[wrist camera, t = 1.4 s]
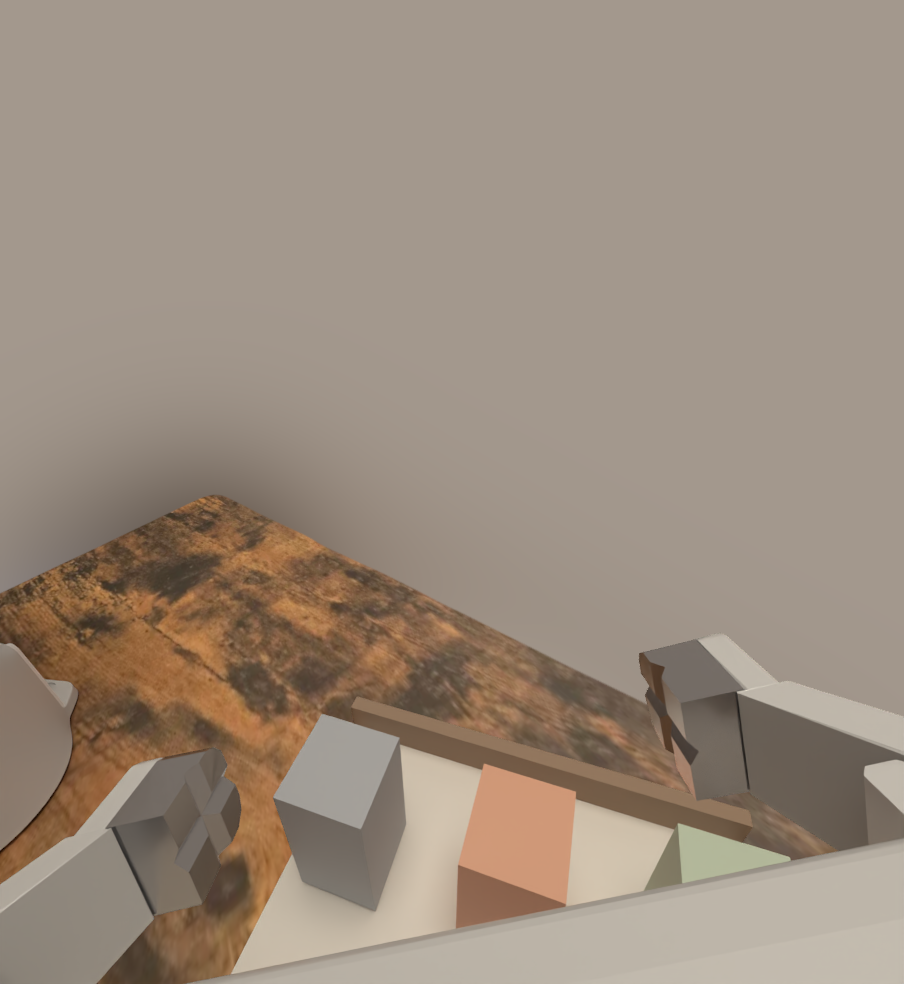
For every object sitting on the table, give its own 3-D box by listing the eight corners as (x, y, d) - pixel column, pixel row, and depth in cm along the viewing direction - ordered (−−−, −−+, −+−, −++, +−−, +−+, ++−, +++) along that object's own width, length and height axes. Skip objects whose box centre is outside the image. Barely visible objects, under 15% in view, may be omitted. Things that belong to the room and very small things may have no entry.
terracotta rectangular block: (455, 943, 28) (458, 864, 23) (477, 848, 32) (483, 763, 27) (542, 978, 27) (566, 904, 22) (553, 875, 31) (576, 791, 26)
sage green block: (637, 1017, 26) (686, 948, 21) (636, 904, 30) (677, 822, 25) (742, 1059, 25) (823, 997, 19) (726, 936, 29) (789, 857, 24)
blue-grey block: (302, 881, 31) (273, 797, 26) (340, 800, 35) (322, 714, 30) (375, 911, 30) (360, 829, 24) (406, 823, 34) (399, 737, 28)
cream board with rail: (216, 1020, 27) (195, 996, 24) (368, 714, 42) (364, 682, 40) (802, 1317, 20) (847, 1321, 18) (726, 822, 35) (745, 790, 33)
